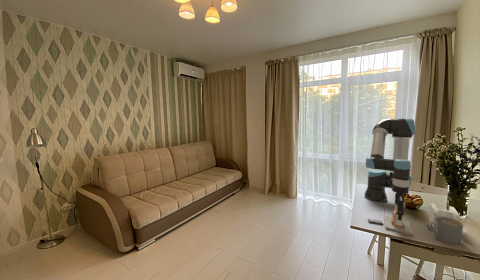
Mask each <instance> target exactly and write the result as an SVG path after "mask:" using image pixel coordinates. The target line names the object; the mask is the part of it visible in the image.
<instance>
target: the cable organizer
mask: <svg viewBox="0 0 480 280" xmlns="http://www.w3.org/2000/svg"><path fill="white" fill-rule="evenodd" d="M428 207H429V211H428V219H429V220H428V221H435V218H436V217H437V216H443V217H449V218H452V219H455V220H458V221H461V220H460V217H461V216H460V213H458V211H457V210H456V208H455V206H449V207H448V210H446V209H441V208H438V207H437V206H436V205H435V203H429V206H428ZM431 227H432V229H434V228H435V225H434V224H432V225H431Z"/></svg>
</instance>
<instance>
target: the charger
mask: <svg viewBox="0 0 480 280" xmlns="http://www.w3.org/2000/svg"><path fill="white" fill-rule="evenodd" d="M396 212H397V211H394V210H393V212H392V213H393V214H392V217H393V223H392V225H393V226H397V227H401V228H404V227H403V222H402V226H401V225H397V224H396V217H397V214H396ZM400 213H401V212H400ZM404 215H405V214H404ZM404 215H403V220H405V219H404Z"/></svg>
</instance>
